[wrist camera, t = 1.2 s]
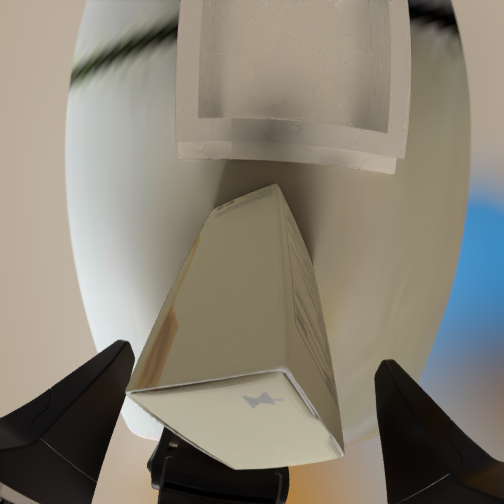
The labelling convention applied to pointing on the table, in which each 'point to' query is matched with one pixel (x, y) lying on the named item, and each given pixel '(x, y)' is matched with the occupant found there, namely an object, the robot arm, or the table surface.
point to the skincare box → (244, 344)
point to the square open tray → (294, 81)
